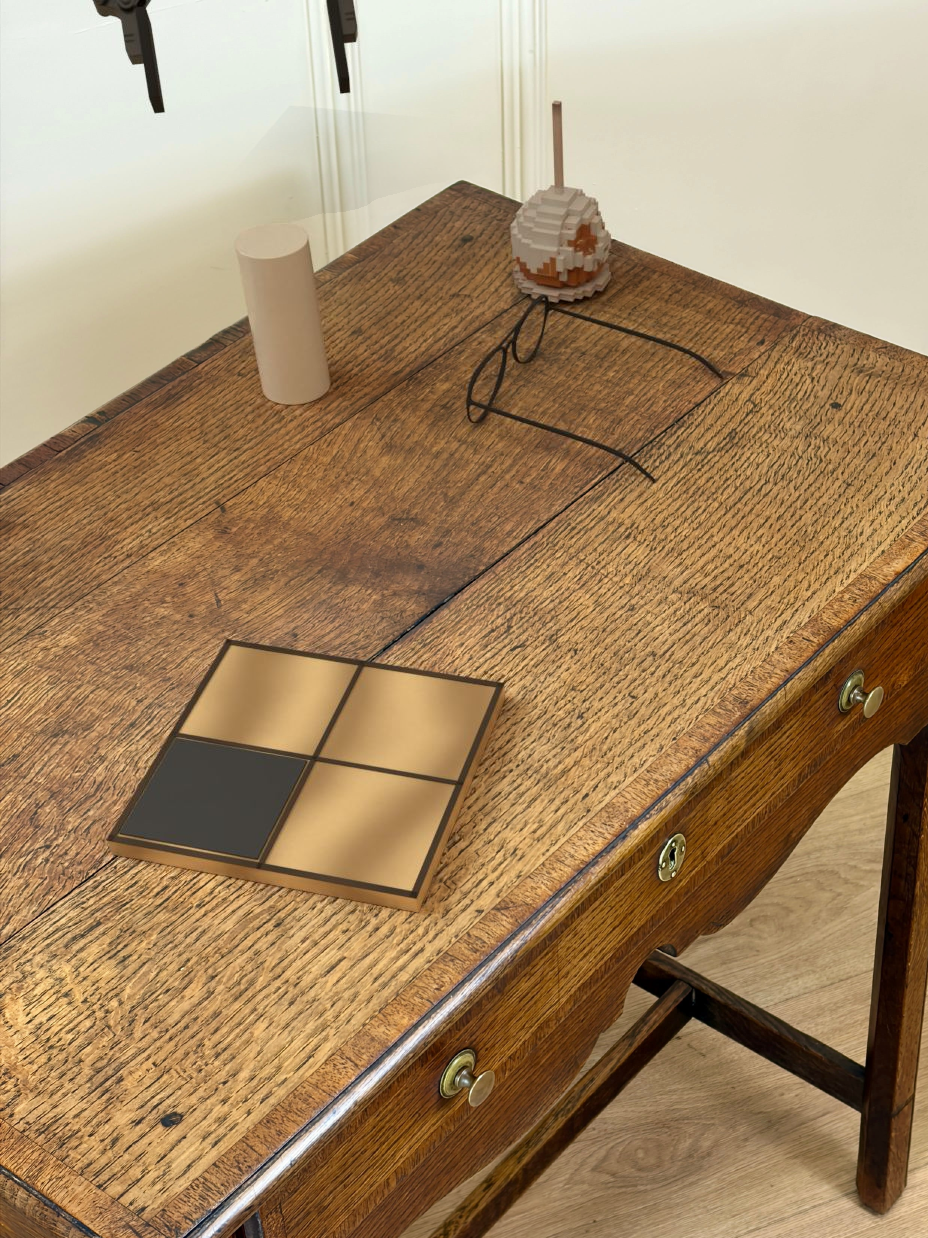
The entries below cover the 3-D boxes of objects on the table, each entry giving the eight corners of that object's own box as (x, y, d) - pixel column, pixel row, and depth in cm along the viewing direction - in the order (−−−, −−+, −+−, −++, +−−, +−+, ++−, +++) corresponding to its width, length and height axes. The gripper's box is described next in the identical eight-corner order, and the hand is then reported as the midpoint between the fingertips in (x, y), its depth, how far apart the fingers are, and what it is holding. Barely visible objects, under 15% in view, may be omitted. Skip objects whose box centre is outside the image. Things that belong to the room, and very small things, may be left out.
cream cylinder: (251, 400, 119) (223, 253, 111) (277, 364, 123) (251, 218, 114) (316, 409, 118) (292, 261, 110) (340, 371, 122) (318, 225, 113)
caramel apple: (589, 314, 127) (587, 131, 116) (500, 298, 129) (489, 117, 118) (622, 267, 132) (622, 88, 121) (535, 253, 134) (528, 75, 123)
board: (111, 854, 88) (105, 839, 87) (230, 654, 100) (226, 638, 99) (418, 913, 85) (416, 897, 84) (505, 698, 96) (504, 682, 95)
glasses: (543, 339, 124) (547, 283, 121) (720, 397, 121) (730, 341, 117) (462, 437, 115) (464, 380, 112) (651, 502, 112) (660, 445, 108)
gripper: (378, -182, 120) (420, 98, 120) (42, -153, 117) (87, 134, 118) (377, -243, 112) (422, 55, 113) (18, -214, 110) (66, 92, 110)
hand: (251, 96), depth 115 cm, fingers open, 13 cm apart
